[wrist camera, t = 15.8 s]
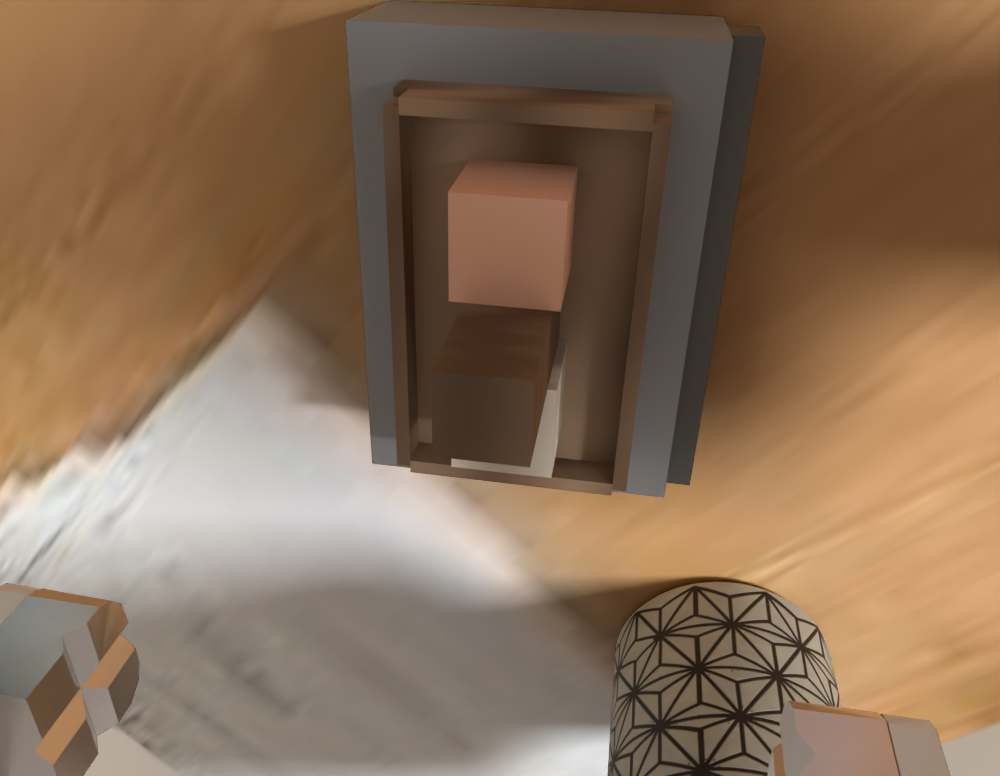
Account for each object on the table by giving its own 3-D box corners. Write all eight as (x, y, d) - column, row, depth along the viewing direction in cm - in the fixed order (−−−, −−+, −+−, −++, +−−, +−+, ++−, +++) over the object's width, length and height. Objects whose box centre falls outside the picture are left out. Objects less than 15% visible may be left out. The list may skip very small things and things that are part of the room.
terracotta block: (577, 166, 32) (567, 201, 29) (570, 267, 34) (560, 311, 31) (470, 158, 32) (448, 191, 29) (469, 259, 34) (448, 301, 31)
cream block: (567, 341, 36) (556, 390, 32) (561, 423, 38) (551, 478, 34) (470, 332, 36) (450, 379, 33) (470, 413, 38) (451, 466, 35)
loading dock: (753, 18, 35) (768, 42, 30) (687, 430, 46) (690, 500, 40) (389, 0, 37) (345, 20, 32) (403, 400, 47) (372, 463, 42)
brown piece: (671, 95, 32) (675, 182, 23) (627, 457, 40) (617, 625, 31) (403, 79, 33) (306, 155, 24) (414, 433, 41) (344, 588, 32)
